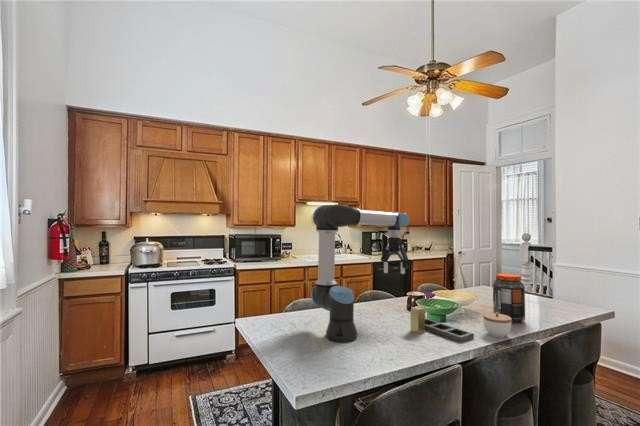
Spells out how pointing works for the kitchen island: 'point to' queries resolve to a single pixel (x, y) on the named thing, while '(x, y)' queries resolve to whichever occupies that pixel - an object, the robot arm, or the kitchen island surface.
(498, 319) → the lidded bowl
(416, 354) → the kitchen island surface
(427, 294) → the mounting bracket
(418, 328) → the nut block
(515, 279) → the supplement tub
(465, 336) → the dark grey slotted tray
